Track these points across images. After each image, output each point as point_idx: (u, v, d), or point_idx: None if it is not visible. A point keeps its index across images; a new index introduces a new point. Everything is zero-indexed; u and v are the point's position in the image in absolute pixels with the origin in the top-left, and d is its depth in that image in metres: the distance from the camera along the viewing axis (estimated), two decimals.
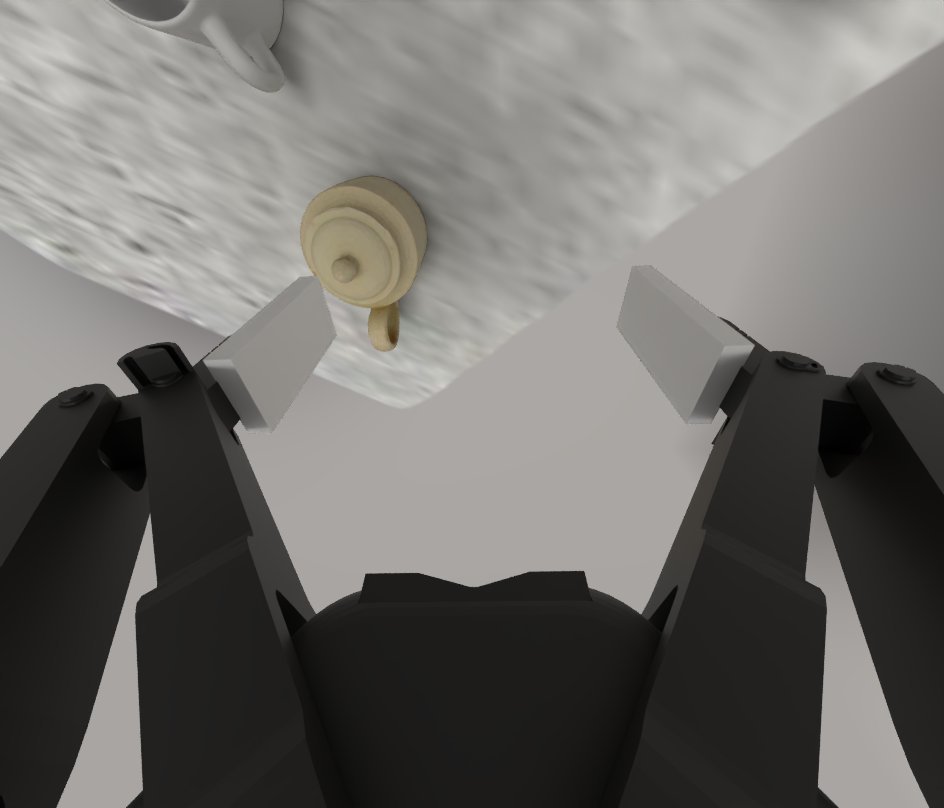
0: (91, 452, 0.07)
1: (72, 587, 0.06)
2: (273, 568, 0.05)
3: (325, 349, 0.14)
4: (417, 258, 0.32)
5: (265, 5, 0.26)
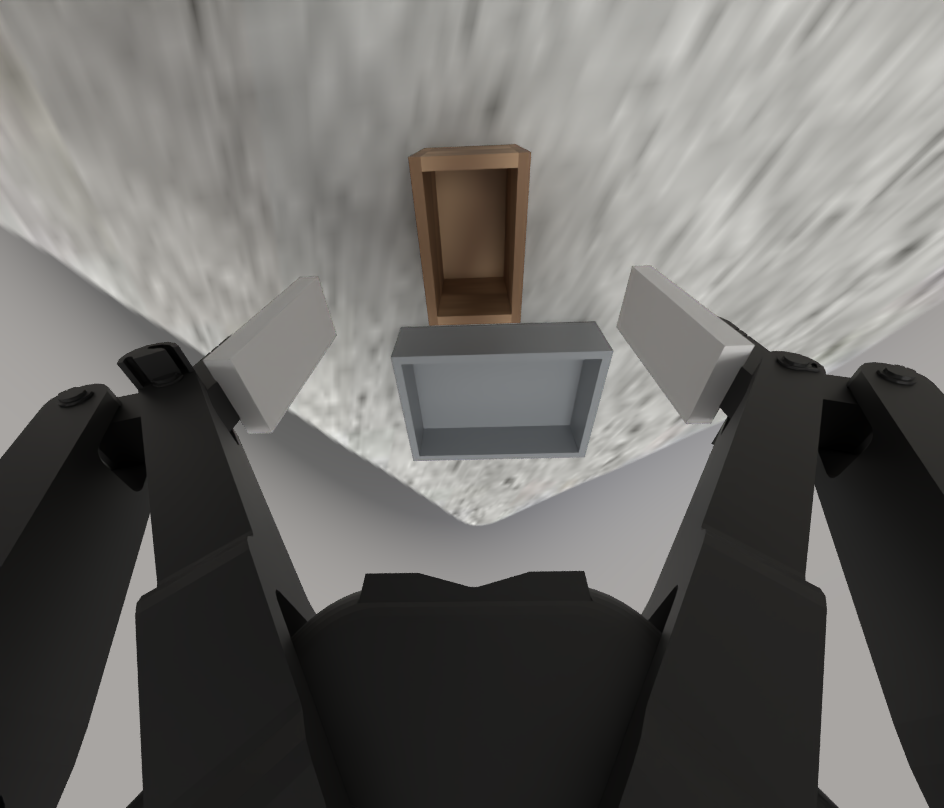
0: (91, 452, 0.07)
1: (72, 587, 0.06)
2: (273, 568, 0.05)
3: (325, 349, 0.14)
4: None
5: None
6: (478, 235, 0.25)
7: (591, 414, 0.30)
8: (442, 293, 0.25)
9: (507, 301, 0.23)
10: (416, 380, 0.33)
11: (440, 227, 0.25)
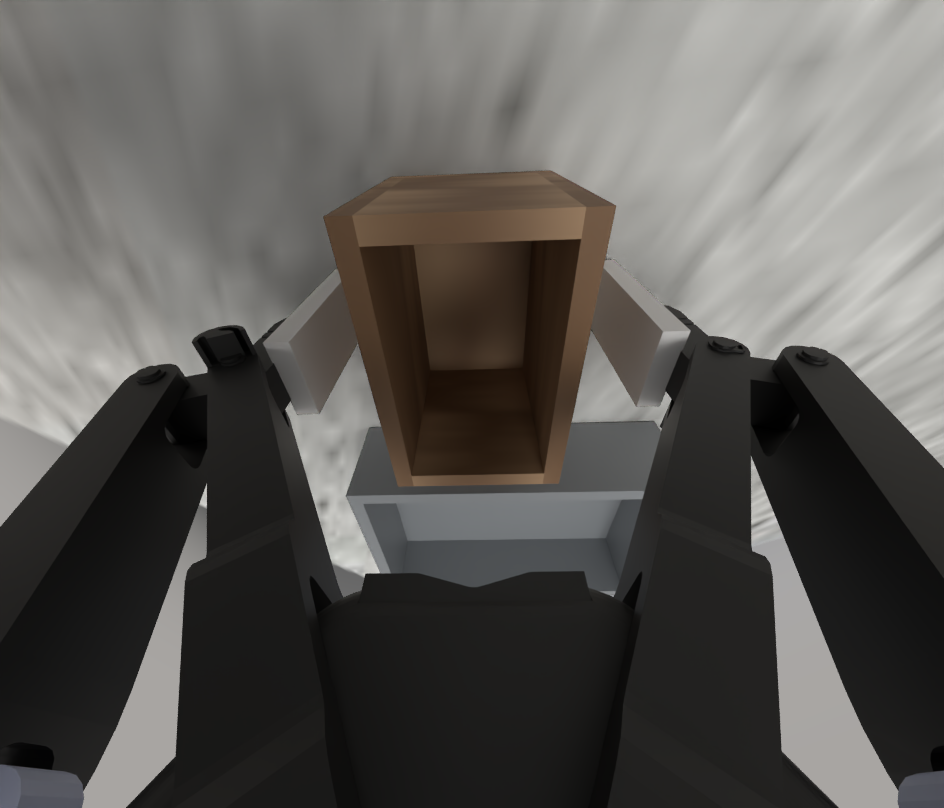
0: (159, 429, 0.08)
1: (130, 556, 0.06)
2: (309, 553, 0.05)
3: None
4: None
5: None
6: (484, 312, 0.16)
7: None
8: (425, 407, 0.15)
9: (533, 433, 0.14)
10: None
11: (422, 301, 0.15)
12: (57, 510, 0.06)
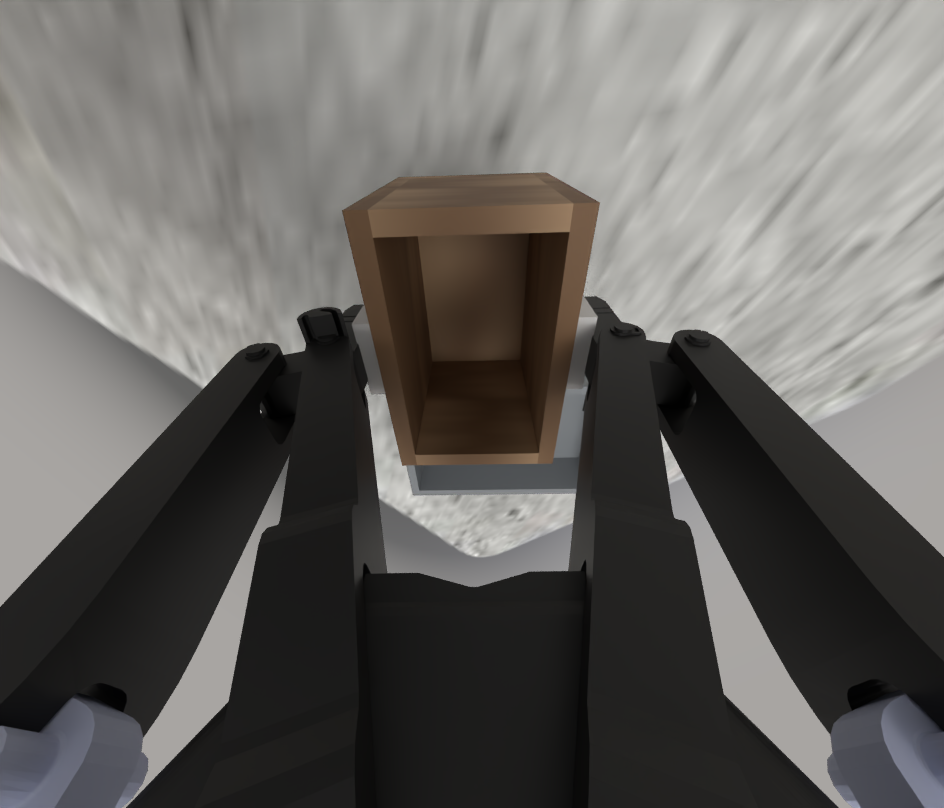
0: (255, 404, 0.08)
1: (214, 522, 0.07)
2: (366, 538, 0.06)
3: None
4: None
5: None
6: (483, 305, 0.17)
7: None
8: (427, 394, 0.16)
9: (529, 418, 0.15)
10: None
11: (425, 294, 0.16)
12: (164, 470, 0.06)
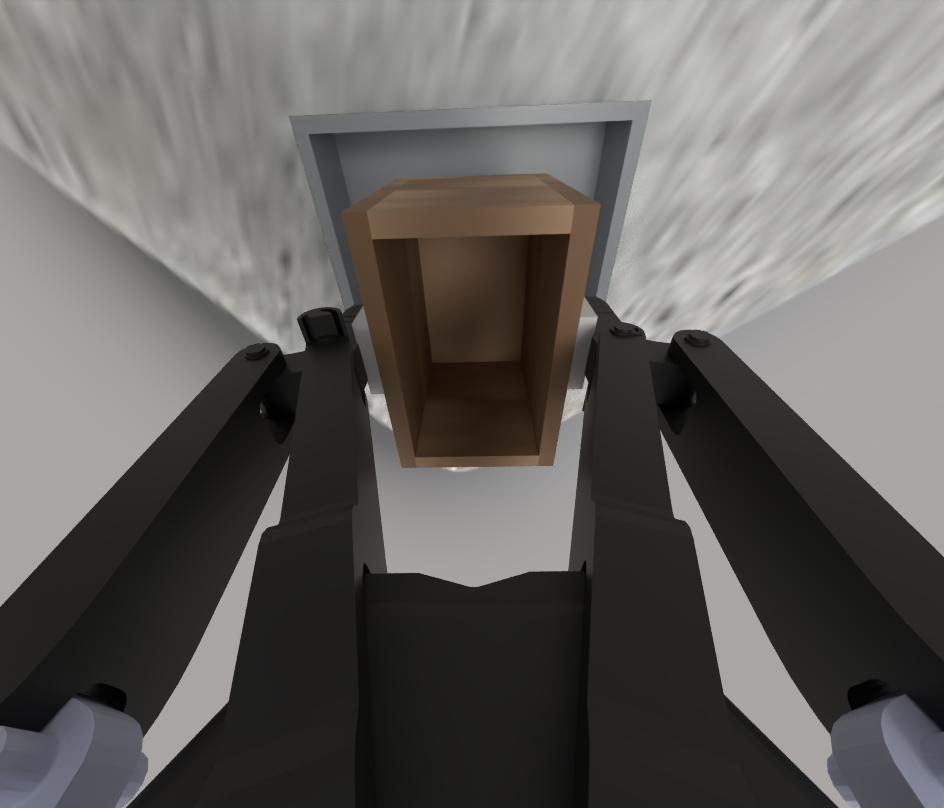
0: (256, 404, 0.08)
1: (214, 522, 0.07)
2: (366, 538, 0.06)
3: None
4: None
5: None
6: (483, 306, 0.16)
7: (610, 248, 0.20)
8: (427, 396, 0.16)
9: (529, 419, 0.15)
10: None
11: (425, 295, 0.16)
12: (164, 470, 0.06)
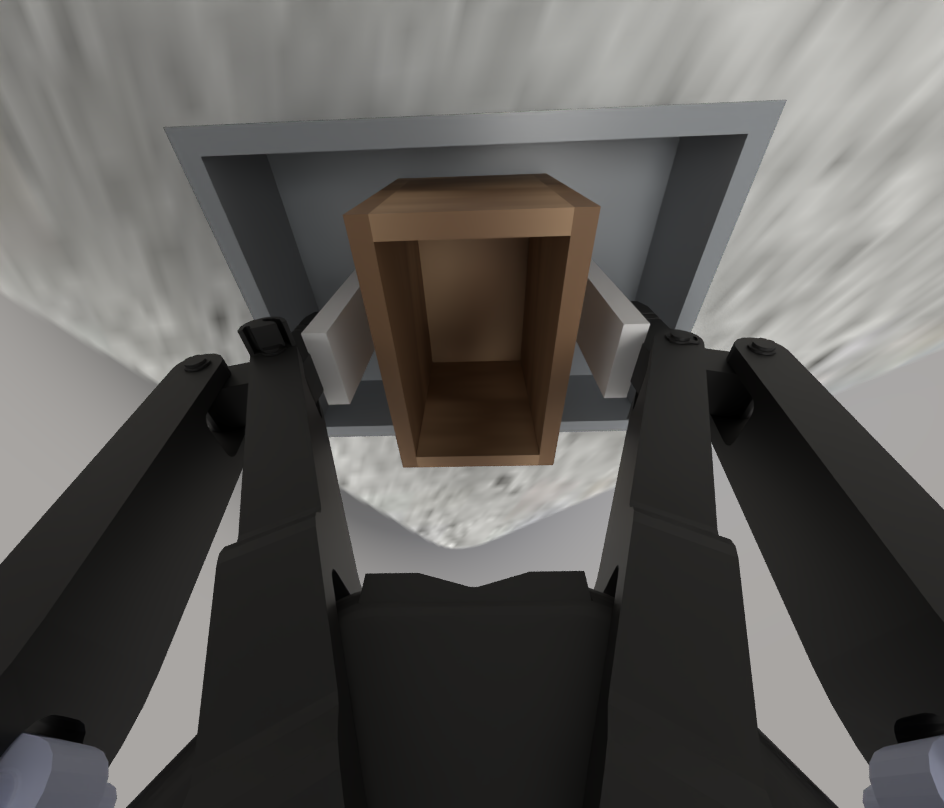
0: (201, 417, 0.08)
1: (167, 540, 0.06)
2: (333, 545, 0.05)
3: None
4: None
5: None
6: (483, 306, 0.17)
7: (683, 324, 0.13)
8: (428, 396, 0.16)
9: (530, 419, 0.15)
10: (306, 268, 0.16)
11: (425, 295, 0.16)
12: (104, 490, 0.06)
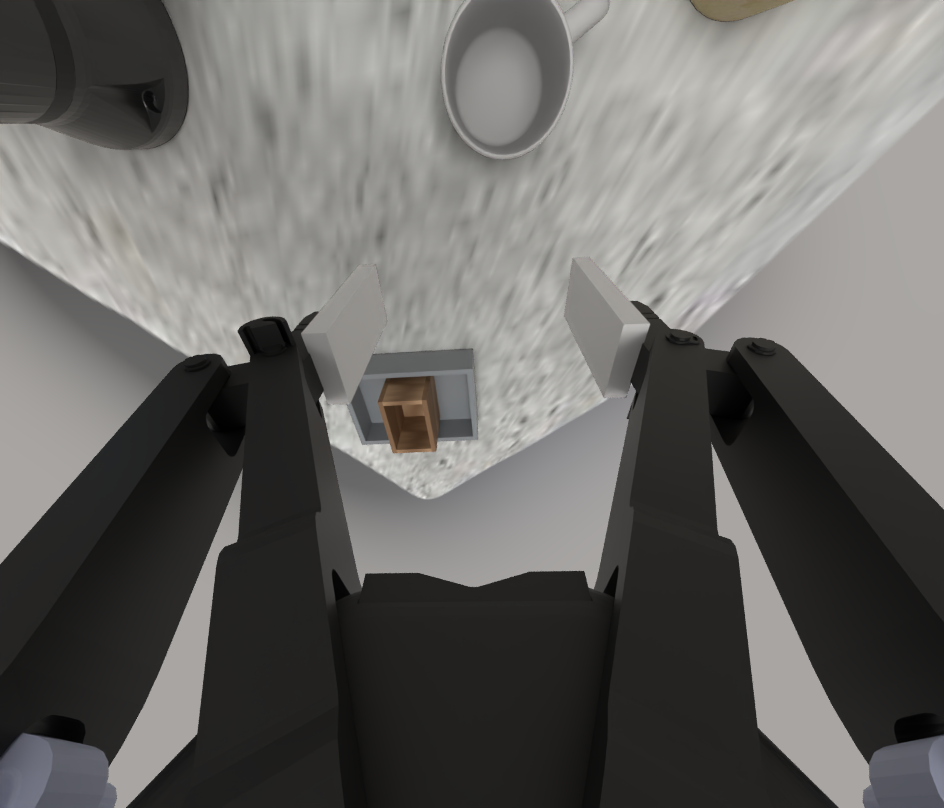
0: (201, 417, 0.08)
1: (166, 540, 0.06)
2: (333, 545, 0.05)
3: (380, 333, 0.15)
4: None
5: None
6: None
7: (472, 409, 0.46)
8: (401, 430, 0.49)
9: None
10: (361, 389, 0.49)
11: None
12: (103, 491, 0.06)
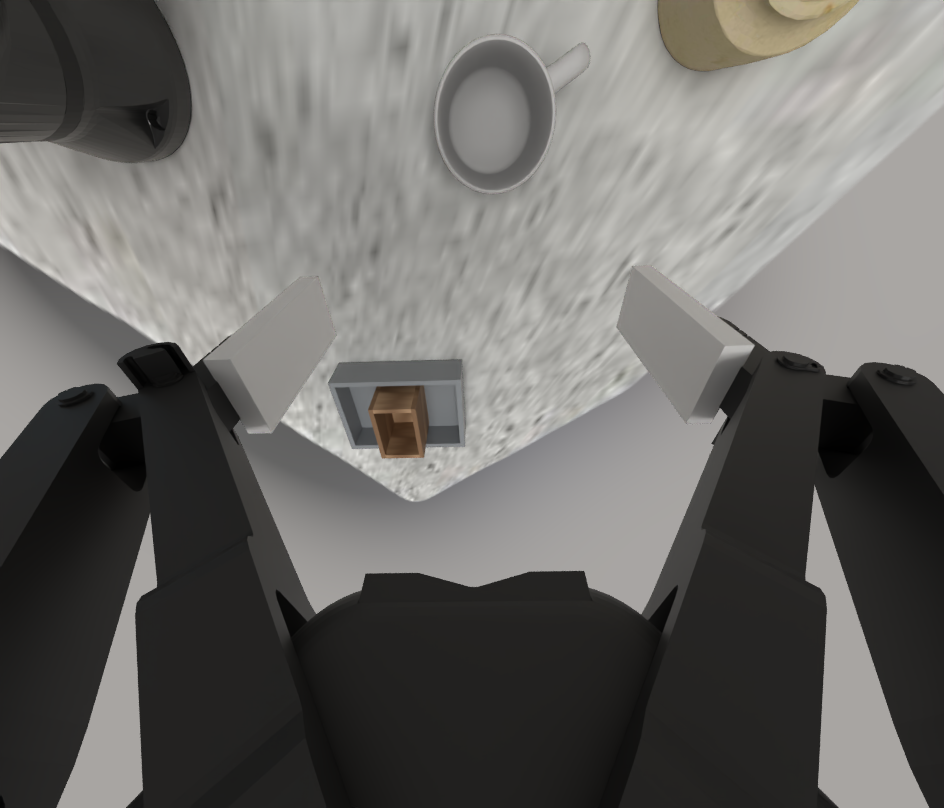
0: (92, 452, 0.07)
1: (72, 587, 0.06)
2: (273, 568, 0.05)
3: (325, 349, 0.14)
4: None
5: None
6: None
7: (460, 418, 0.48)
8: (391, 436, 0.51)
9: None
10: (352, 395, 0.51)
11: None
12: None
